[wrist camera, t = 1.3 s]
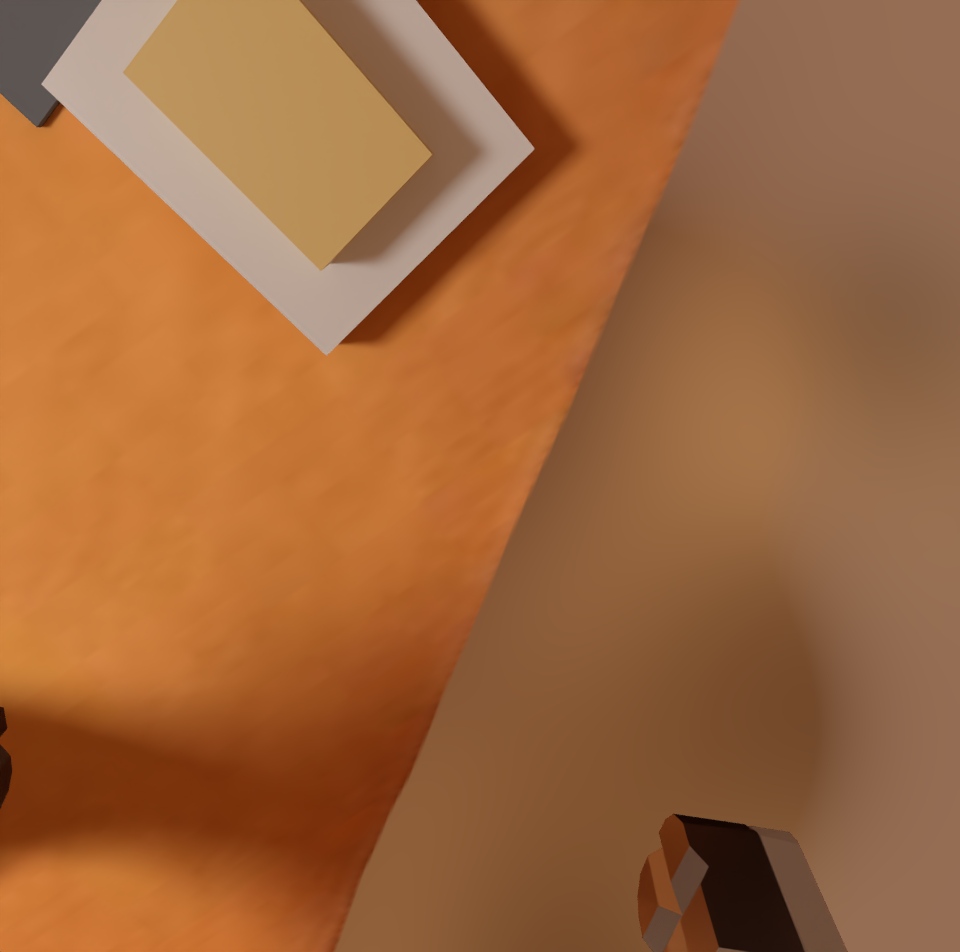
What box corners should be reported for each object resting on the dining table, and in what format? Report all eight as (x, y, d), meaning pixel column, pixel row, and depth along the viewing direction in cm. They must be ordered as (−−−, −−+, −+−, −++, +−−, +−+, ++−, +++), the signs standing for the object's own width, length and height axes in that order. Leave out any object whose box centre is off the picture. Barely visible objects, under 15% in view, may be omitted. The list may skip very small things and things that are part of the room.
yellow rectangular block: (434, 154, 27) (432, 154, 25) (329, 263, 28) (320, 271, 26) (251, -58, 24) (234, -75, 22) (146, 78, 25) (122, 72, 23)
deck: (334, 344, 32) (326, 355, 30) (69, 88, 27) (41, 84, 25) (530, 148, 28) (534, 148, 27) (266, -180, 24) (250, -207, 22)
